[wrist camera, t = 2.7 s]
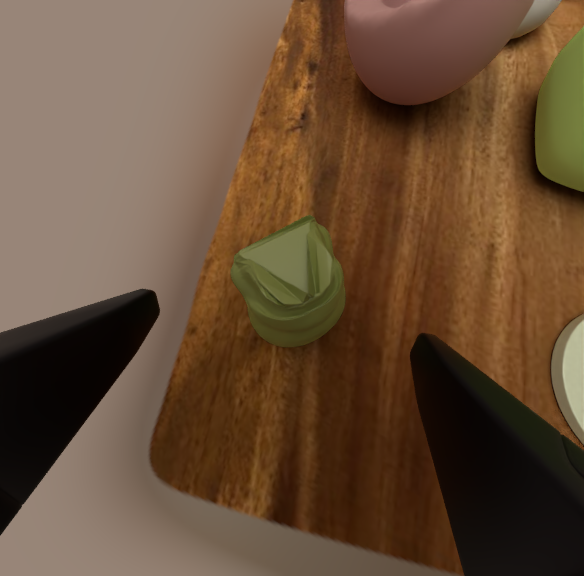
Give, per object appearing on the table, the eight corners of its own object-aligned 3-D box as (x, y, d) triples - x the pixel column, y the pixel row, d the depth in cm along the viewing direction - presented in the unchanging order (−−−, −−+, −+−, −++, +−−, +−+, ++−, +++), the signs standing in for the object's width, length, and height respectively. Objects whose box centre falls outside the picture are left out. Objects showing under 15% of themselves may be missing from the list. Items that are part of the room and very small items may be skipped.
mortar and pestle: (361, 28, 25) (413, -237, 13) (479, 62, 23) (648, -207, 12) (313, 114, 22) (329, -126, 11) (443, 158, 20) (614, -69, 9)
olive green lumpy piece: (276, 360, 17) (245, 375, 7) (245, 294, 18) (183, 229, 8) (346, 324, 17) (408, 292, 7) (312, 261, 18) (326, 165, 9)
